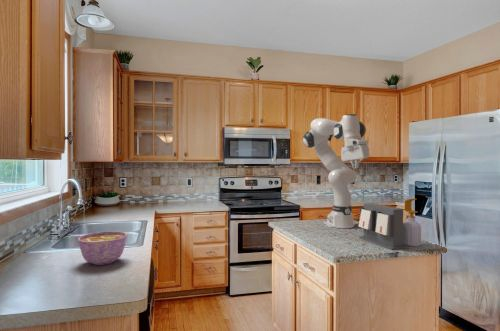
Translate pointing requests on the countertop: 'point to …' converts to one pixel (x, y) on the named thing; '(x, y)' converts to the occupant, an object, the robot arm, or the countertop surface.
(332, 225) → the robot arm
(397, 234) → the power panel
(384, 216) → the block
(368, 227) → the block
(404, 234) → the soap bottle
